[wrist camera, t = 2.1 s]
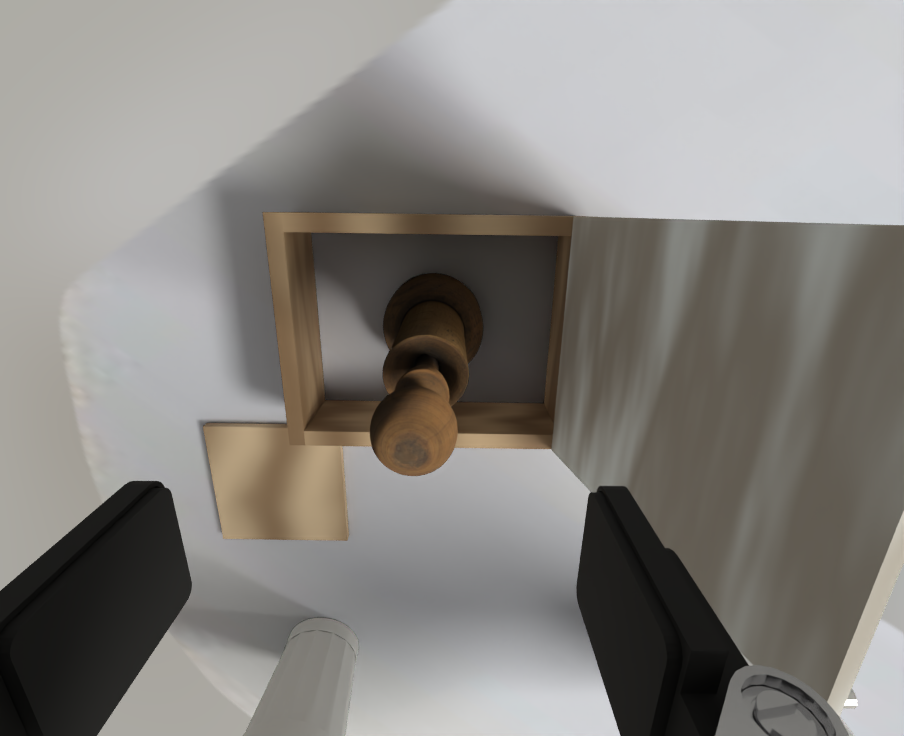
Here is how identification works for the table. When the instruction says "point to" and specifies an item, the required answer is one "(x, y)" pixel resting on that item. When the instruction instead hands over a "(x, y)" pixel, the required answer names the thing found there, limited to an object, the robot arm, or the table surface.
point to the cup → (310, 683)
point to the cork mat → (275, 484)
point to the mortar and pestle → (424, 372)
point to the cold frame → (693, 404)
